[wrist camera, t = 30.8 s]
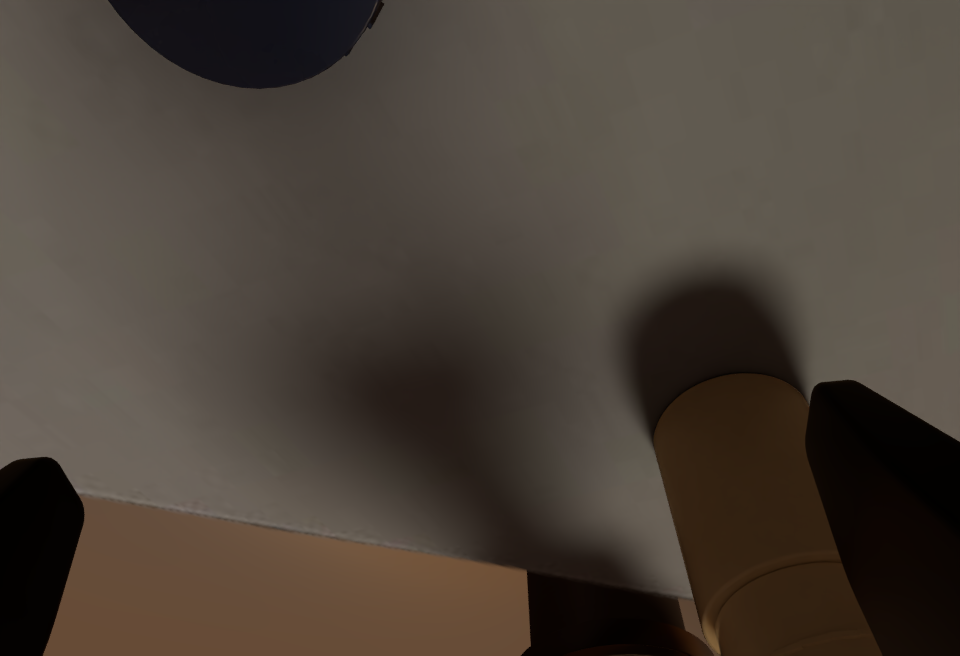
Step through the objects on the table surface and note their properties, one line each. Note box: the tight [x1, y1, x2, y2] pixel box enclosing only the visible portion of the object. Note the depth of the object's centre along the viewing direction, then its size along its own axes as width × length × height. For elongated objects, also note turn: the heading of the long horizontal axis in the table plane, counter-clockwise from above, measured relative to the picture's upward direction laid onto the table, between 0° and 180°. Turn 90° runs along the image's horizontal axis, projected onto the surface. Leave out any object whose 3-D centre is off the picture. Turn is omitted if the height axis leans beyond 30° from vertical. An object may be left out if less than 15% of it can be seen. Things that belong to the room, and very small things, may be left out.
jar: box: [654, 373, 883, 656], centre depth 21 cm, size 5×5×10 cm
